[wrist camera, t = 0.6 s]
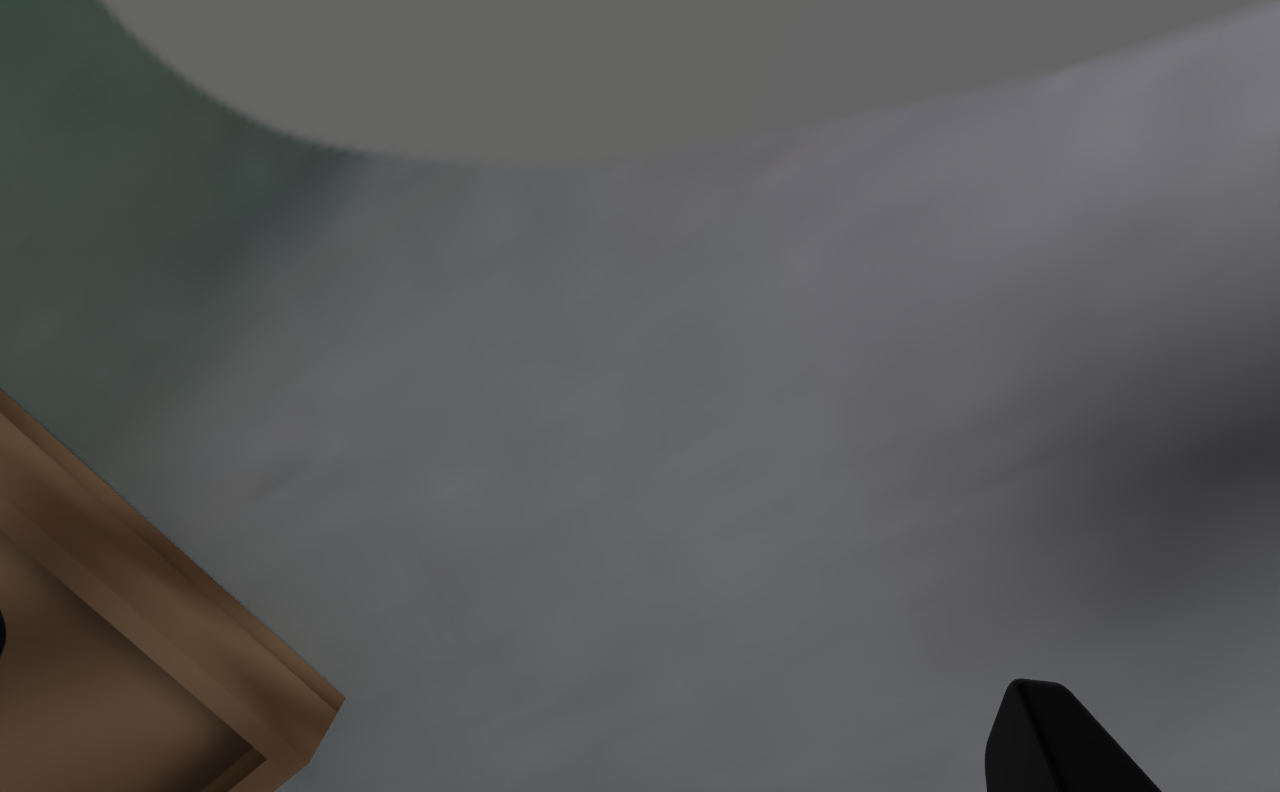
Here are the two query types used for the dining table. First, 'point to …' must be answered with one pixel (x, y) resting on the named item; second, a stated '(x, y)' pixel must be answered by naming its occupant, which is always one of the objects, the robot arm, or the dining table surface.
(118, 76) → the dining table surface
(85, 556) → the walnut tray
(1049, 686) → the robot arm
